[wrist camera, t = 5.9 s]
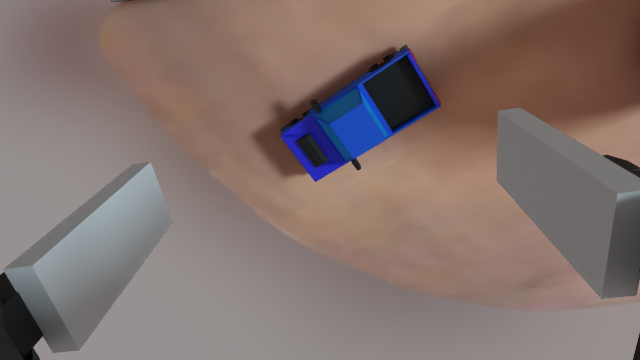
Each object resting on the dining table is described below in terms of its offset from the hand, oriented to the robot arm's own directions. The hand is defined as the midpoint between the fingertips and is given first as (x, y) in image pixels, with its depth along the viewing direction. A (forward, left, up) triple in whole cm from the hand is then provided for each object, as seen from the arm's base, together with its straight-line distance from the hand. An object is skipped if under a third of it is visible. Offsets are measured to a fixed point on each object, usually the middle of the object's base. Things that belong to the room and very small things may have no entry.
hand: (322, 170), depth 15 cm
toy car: (+3, +1, -20) cm, 20 cm away
